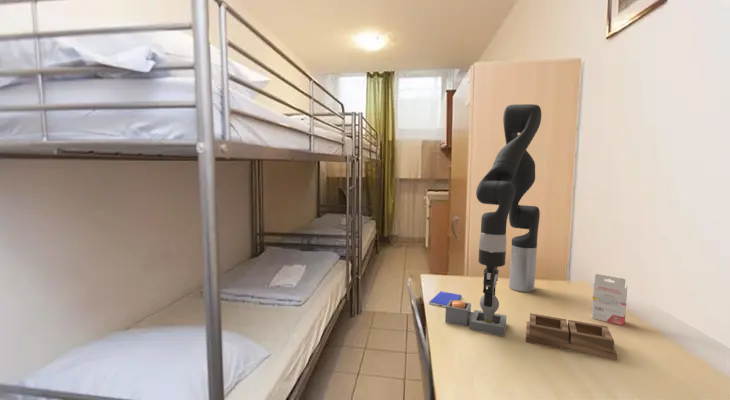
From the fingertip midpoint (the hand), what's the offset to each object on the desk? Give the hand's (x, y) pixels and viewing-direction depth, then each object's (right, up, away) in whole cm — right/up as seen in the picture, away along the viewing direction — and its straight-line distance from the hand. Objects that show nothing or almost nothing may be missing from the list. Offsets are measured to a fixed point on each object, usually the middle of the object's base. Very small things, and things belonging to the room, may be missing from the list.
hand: (489, 301), depth 108 cm
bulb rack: (+19, -9, -8) cm, 22 cm away
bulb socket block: (-4, -7, +3) cm, 9 cm away
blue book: (-8, -7, +21) cm, 24 cm away
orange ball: (-8, -5, +5) cm, 11 cm away
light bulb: (0, -8, +1) cm, 8 cm away
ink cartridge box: (+40, -8, +8) cm, 42 cm away
